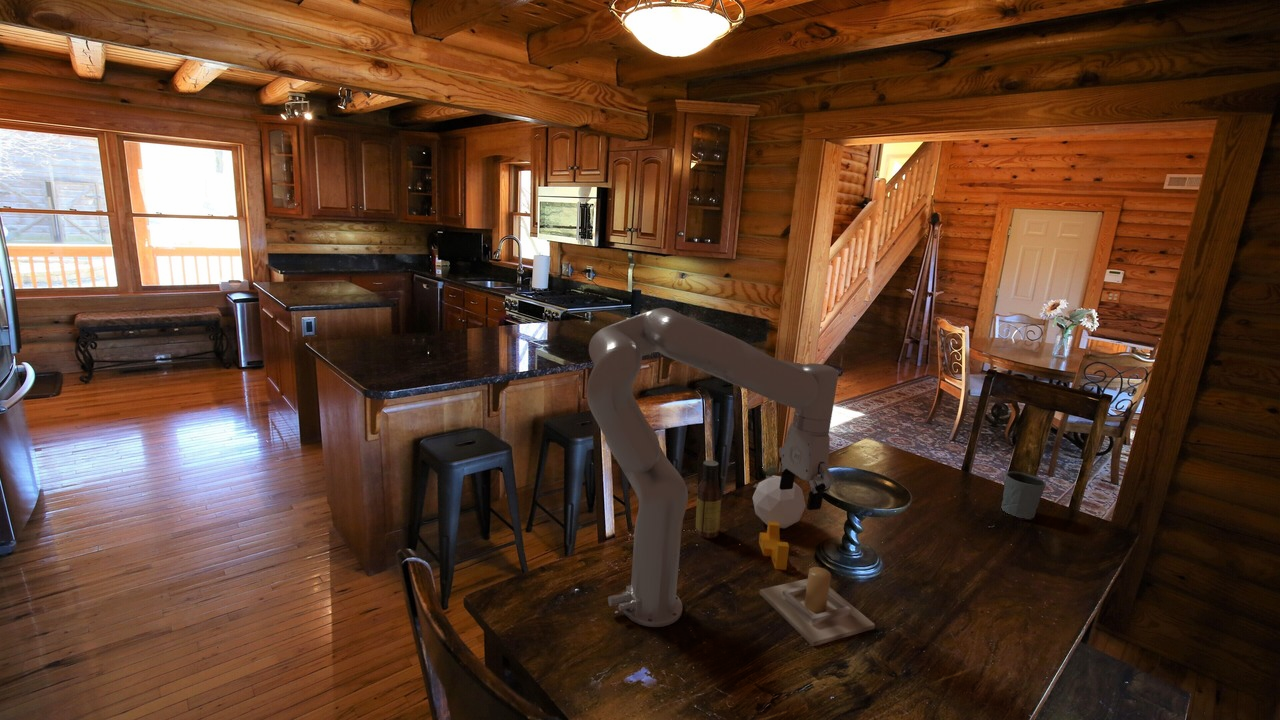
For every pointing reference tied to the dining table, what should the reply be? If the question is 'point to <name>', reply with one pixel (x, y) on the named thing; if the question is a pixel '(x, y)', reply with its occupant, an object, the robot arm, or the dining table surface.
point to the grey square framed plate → (812, 625)
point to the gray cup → (1022, 494)
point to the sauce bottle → (708, 501)
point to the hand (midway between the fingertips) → (799, 498)
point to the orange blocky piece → (774, 546)
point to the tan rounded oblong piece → (817, 589)
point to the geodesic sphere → (778, 502)
